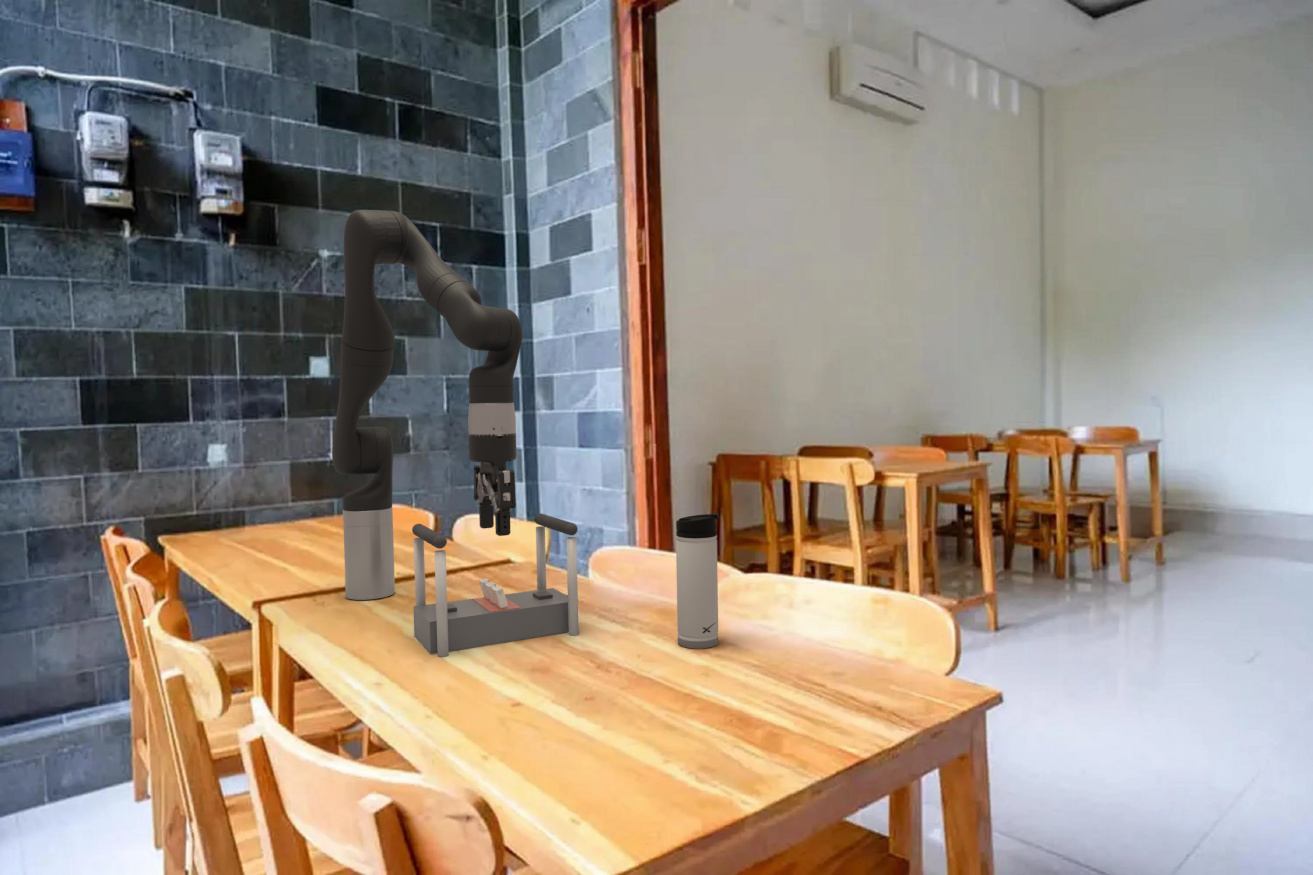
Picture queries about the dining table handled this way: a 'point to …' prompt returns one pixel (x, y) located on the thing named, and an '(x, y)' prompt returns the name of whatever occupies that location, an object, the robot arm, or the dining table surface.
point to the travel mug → (697, 581)
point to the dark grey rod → (556, 524)
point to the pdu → (493, 607)
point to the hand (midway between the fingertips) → (494, 531)
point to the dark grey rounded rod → (429, 536)
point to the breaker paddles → (493, 593)
